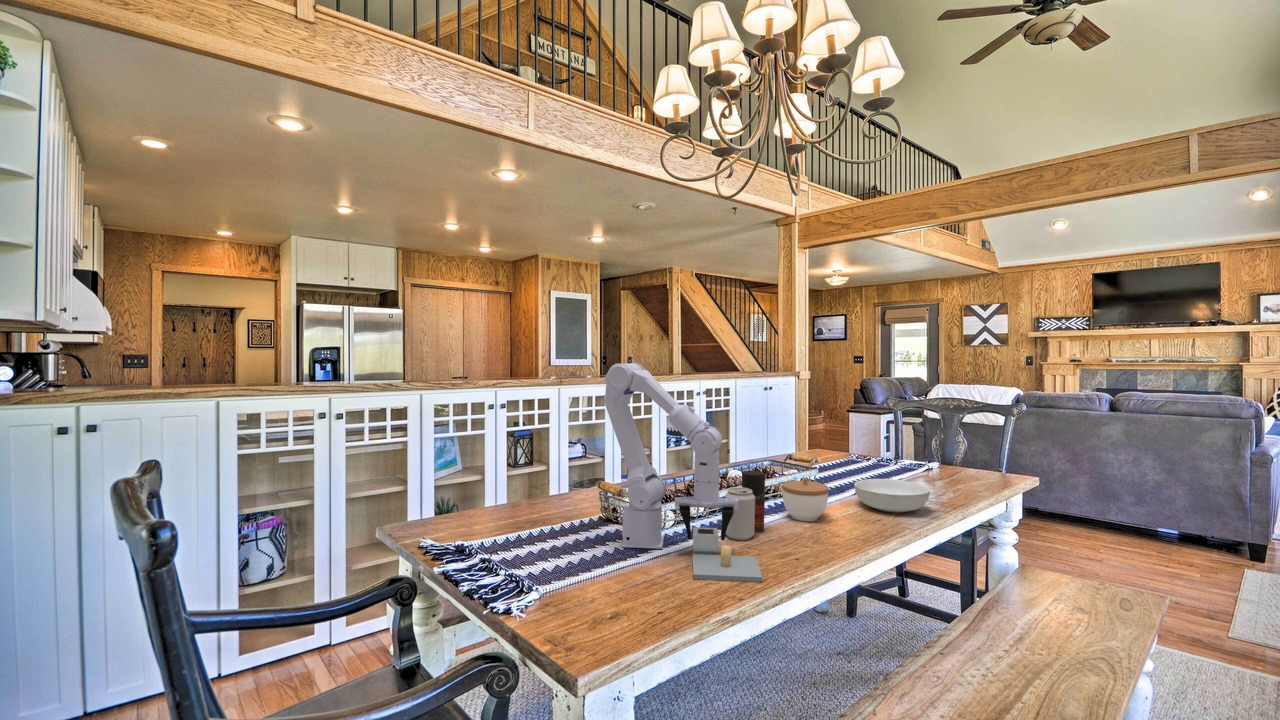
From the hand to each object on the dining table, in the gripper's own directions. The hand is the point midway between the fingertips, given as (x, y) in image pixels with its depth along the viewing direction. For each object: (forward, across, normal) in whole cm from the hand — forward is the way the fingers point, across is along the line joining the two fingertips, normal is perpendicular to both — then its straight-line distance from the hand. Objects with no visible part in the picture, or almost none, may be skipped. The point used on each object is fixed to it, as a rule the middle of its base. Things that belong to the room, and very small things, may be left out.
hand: (705, 538), depth 139 cm
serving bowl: (+4, +57, +45) cm, 73 cm away
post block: (+3, +4, -10) cm, 11 cm away
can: (+4, +9, +13) cm, 16 cm away
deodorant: (+4, +13, +19) cm, 23 cm away
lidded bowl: (+4, +29, +32) cm, 43 cm away
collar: (+3, 0, 0) cm, 3 cm away
